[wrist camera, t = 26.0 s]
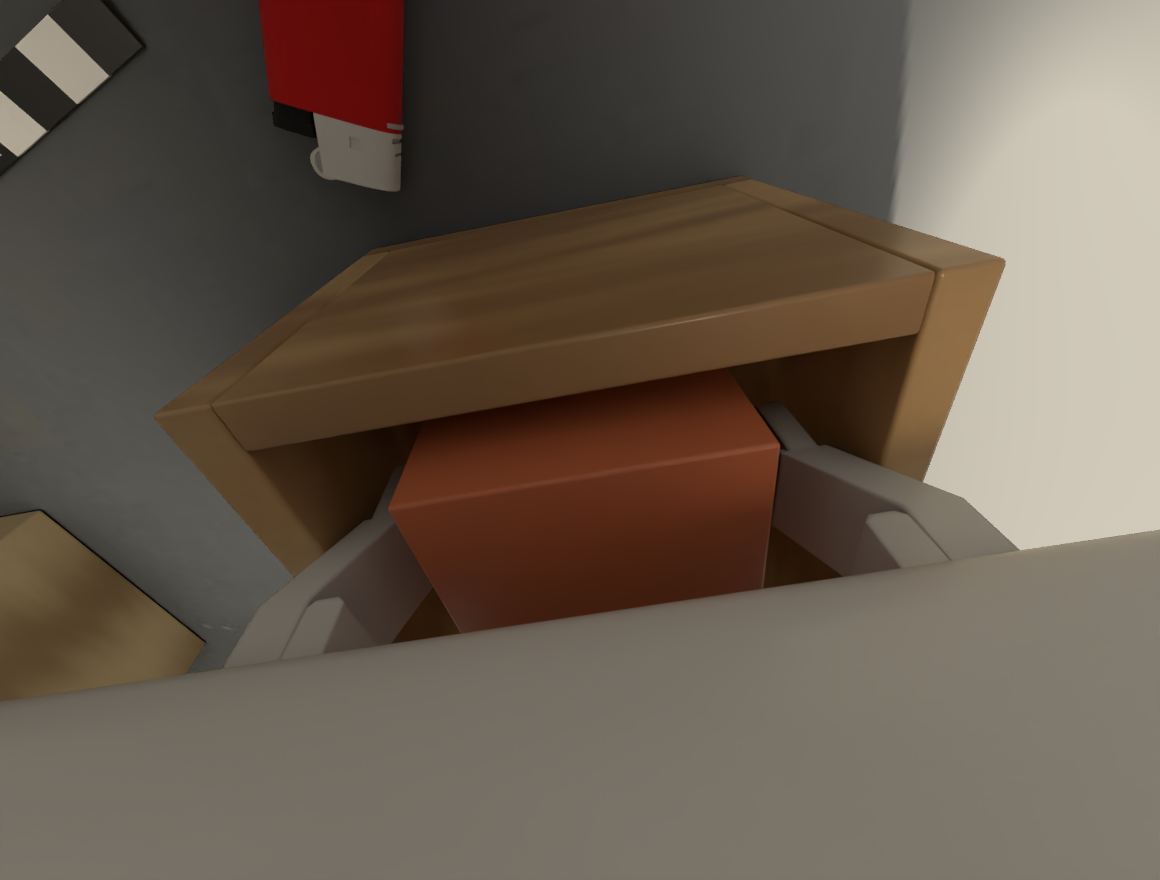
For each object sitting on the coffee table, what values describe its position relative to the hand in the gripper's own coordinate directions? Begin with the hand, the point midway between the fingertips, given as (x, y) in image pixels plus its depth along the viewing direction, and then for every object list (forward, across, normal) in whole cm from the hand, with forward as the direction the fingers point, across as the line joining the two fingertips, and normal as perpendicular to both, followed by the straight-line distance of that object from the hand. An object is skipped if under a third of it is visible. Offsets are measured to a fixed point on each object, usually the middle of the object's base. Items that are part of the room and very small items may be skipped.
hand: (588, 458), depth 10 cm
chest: (+6, 0, +3) cm, 7 cm away
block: (+2, 0, 0) cm, 2 cm away
